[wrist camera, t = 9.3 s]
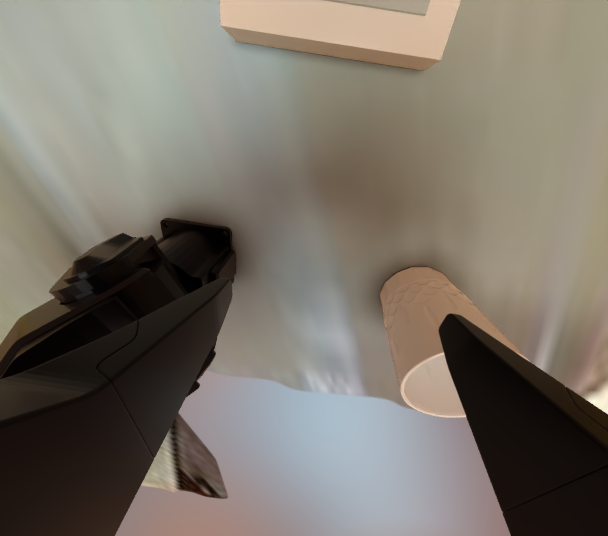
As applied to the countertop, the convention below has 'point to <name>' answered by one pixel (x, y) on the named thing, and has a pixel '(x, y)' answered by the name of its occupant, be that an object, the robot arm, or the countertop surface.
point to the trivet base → (347, 28)
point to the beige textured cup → (427, 337)
